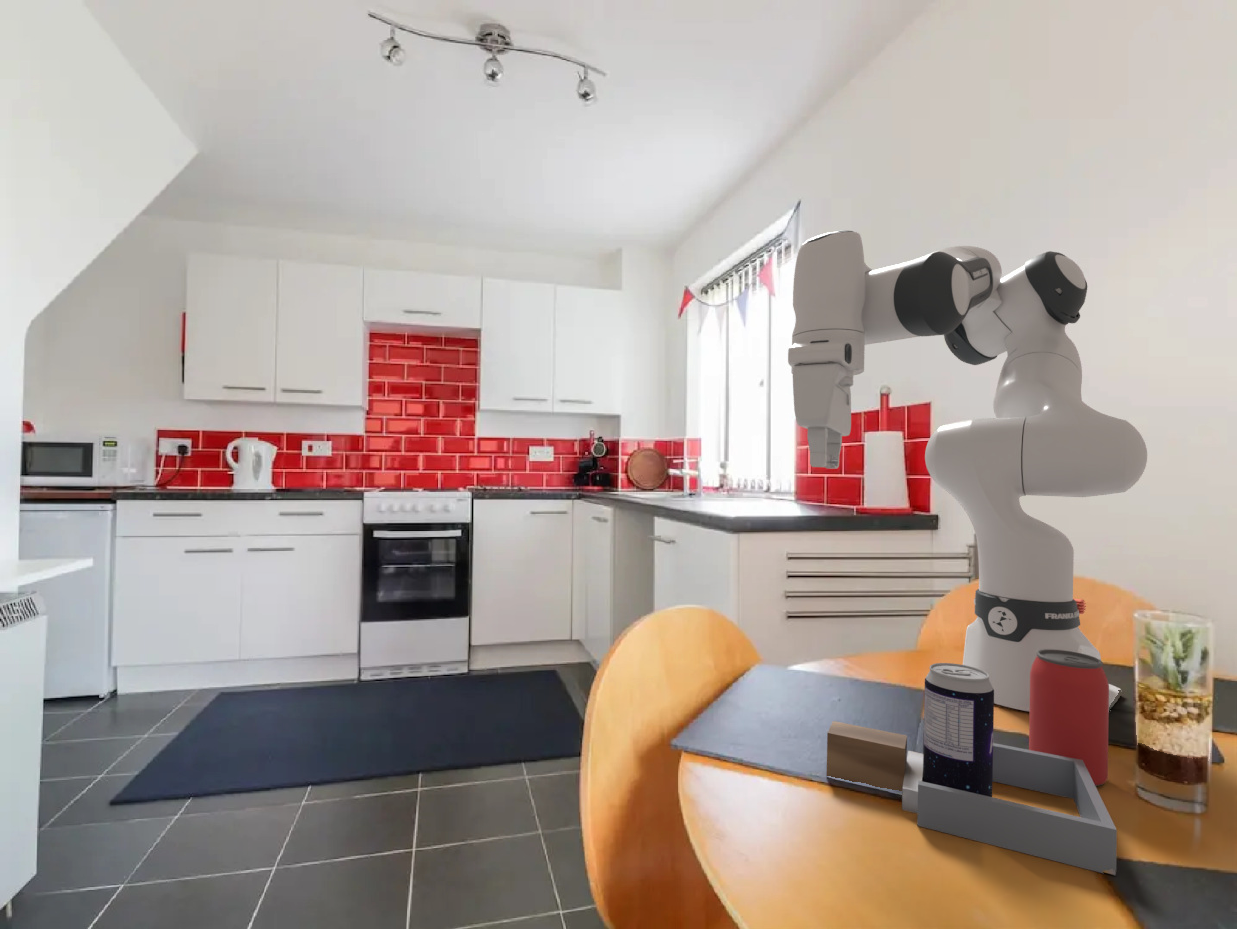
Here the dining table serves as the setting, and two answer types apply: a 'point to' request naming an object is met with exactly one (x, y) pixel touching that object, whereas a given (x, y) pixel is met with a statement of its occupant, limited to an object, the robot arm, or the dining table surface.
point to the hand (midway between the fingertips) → (825, 467)
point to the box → (1028, 811)
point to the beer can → (1070, 709)
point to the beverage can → (958, 728)
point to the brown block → (875, 760)
